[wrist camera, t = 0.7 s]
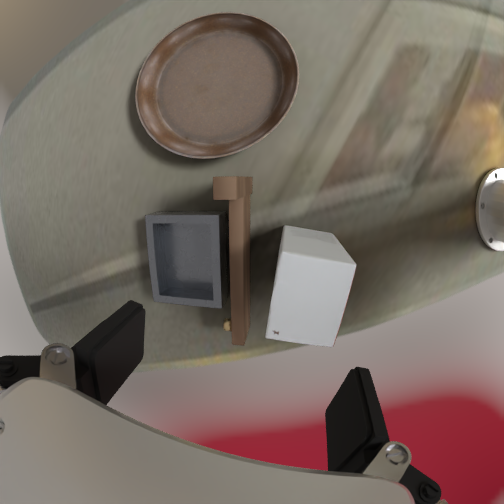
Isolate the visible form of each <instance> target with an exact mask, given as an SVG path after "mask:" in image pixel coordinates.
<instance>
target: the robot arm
mask: <svg viewBox="0 0 504 504" xmlns="http://www.w3.org/2000/svg"><path fill="white" fill-rule="evenodd" d="M476 222H477V227H478V231H479V233H480V236H481V238H482V239H483V241H484V243H485V244H486V245H487V246H488V247H490V248H492V249H494V250H496V251H504V168H495V169H493V170H491V171H490V172H488V173H487V174H486V176H485V177H484V178H483V180H482V182H481V184H480V187H479V190H478V194H477V198H476ZM144 328H145V309H143V306H142V304H139V303H137V302H134V301H132V300H130V301H128V302H127V303H126V304H125V305H123V306H122V307H121V308H120V309H118V310H117V311H116V312H115V313H114V314H112V315H111V316H110V317H109V318H107V319H106V320H104V321H103V322H101V323H100V324H99V325H98V326H97V327H95V328H94V329H93V330H92V331H91V332H89V333H88V334H87V335H86V336H85V337H84V338H82V339H81V340H80V341H79V342H78V343H76V344H75V345H74V346H73V347H72V348H70V347H69V346H67V345H65V344H61V343H53V344H50V345H48V346H46V347H45V348H44V349H43V350H42V353H41V355H40V356H2V357H0V504H448V503H447V502H446V501H445V500H442V501H441V500H440V497H441V489H440V487H439V485H438V484H437V483H436V482H435V481H433V480H432V479H430V478H429V477H427V476H426V475H424V474H423V473H422V472H420V471H419V470H417V469H416V468H414V467H413V466H412V465H410V462H411V453H410V451H409V449H408V448H407V447H406V446H405V445H404V444H402V443H400V442H396V441H394V442H393V441H392V442H390V441H389V436H388V433H387V429H386V425H385V421H384V417H383V414H382V410H381V407H380V403H379V401H378V397H377V394H376V391H375V387H374V384H373V381H372V377H371V374H370V371H369V369H366V368H361V367H356V368H355V369H351V370H350V372H349V373H348V375H347V377H346V378H345V380H344V382H343V384H342V385H341V387H340V389H339V390H338V392H337V393H336V395H335V397H334V398H333V400H332V401H331V403H330V404H329V406H328V408H327V409H326V413H325V417H326V433H327V453H328V471H323V470H313V469H306V468H297V467H290V466H284V465H278V464H273V463H267V462H262V461H258V460H253V459H248V458H244V457H240V456H236V455H232V454H228V453H224V452H221V451H217V450H214V449H211V448H208V447H204V446H201V445H198V444H195V443H192V442H189V441H186V440H184V439H181V438H178V437H175V436H173V435H170V434H167V433H165V432H163V431H160V430H158V429H155V428H153V427H150V426H148V425H146V424H144V423H141V422H139V421H137V420H135V419H133V418H131V417H128V416H126V415H124V414H122V413H120V412H118V411H116V410H114V409H112V408H110V407H108V406H106V405H107V403H108V402H109V401H110V399H111V398H112V397H113V396H114V394H115V393H116V392H117V391H118V389H119V388H120V387H121V385H122V384H123V383H124V382H125V380H126V379H127V378H128V377H129V375H130V374H131V373H132V372H133V370H134V369H135V368H136V367H137V365H138V364H139V363H140V362H141V360H142V358H143V353H144Z"/></svg>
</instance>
